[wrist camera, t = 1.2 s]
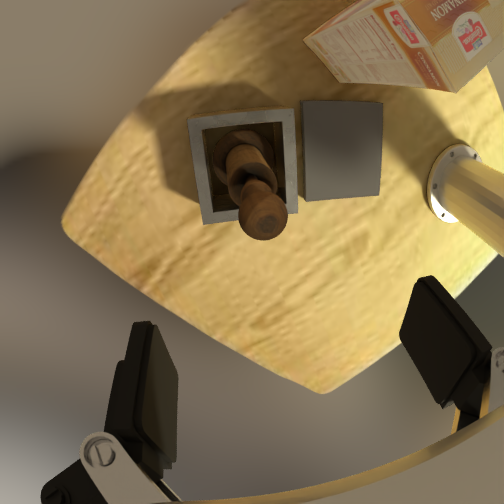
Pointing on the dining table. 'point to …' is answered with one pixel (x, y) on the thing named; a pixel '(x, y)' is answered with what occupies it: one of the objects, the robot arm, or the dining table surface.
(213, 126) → the open square box
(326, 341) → the dining table surface
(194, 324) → the dining table surface
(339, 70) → the coffeecake box
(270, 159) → the wooden pepper mill
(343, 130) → the coaster
